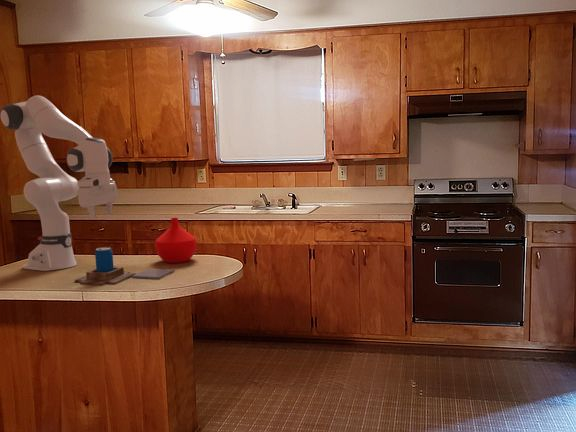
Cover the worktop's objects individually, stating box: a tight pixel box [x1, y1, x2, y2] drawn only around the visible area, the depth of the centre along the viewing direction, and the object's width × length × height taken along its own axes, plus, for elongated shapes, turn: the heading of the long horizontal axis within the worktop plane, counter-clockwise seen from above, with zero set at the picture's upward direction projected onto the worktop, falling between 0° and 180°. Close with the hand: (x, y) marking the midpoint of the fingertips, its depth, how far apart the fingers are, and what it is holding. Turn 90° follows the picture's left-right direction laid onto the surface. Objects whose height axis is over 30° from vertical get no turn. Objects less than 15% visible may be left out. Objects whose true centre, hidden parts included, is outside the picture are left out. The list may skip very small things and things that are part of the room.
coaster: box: [131, 268, 175, 280], centre depth 226 cm, size 12×12×1 cm
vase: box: [154, 217, 198, 264], centre depth 249 cm, size 18×18×19 cm
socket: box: [74, 266, 137, 286], centre depth 222 cm, size 18×18×4 cm
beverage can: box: [94, 246, 115, 273], centre depth 221 cm, size 6×6×12 cm
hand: (101, 216), depth 218 cm, fingers open, 8 cm apart
